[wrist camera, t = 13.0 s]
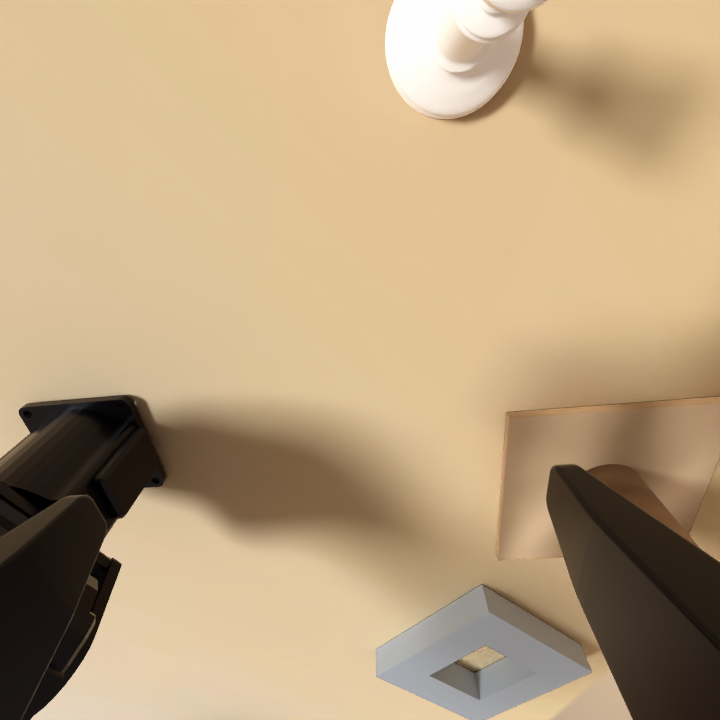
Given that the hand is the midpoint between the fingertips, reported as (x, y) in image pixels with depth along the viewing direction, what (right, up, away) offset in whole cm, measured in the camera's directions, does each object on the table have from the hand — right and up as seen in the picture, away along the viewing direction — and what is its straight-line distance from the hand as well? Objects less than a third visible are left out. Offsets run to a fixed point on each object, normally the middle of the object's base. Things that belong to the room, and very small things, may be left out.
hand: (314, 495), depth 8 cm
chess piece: (+4, +15, +7) cm, 17 cm away
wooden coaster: (+16, -5, +17) cm, 24 cm away
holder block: (+11, -21, +26) cm, 35 cm away
